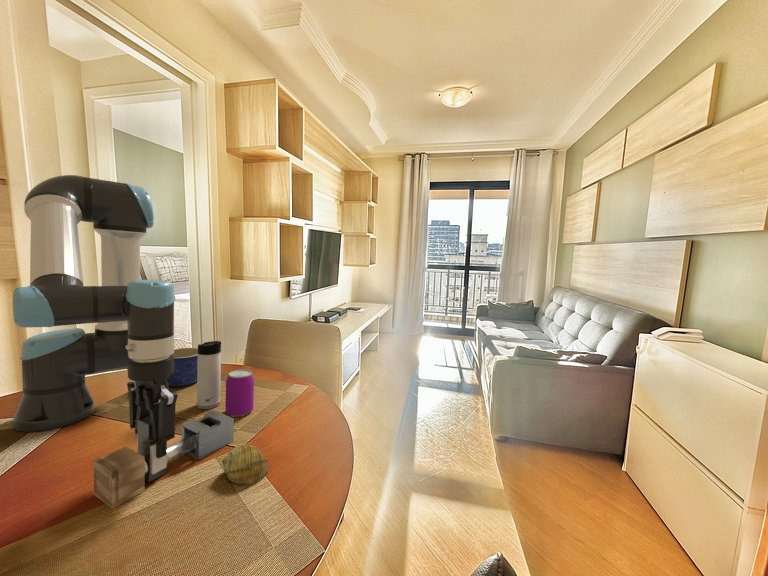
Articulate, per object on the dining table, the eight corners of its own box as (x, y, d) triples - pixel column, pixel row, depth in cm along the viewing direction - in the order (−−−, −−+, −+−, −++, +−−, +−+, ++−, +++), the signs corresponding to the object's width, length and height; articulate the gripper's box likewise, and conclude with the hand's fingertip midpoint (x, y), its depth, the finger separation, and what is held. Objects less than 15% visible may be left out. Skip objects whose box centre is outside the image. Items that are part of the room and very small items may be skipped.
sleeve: (216, 433, 82) (216, 408, 82) (233, 441, 80) (233, 415, 79) (181, 451, 74) (181, 423, 74) (198, 460, 72) (199, 431, 71)
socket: (126, 478, 65) (126, 446, 64) (144, 490, 62) (144, 456, 61) (94, 495, 60) (93, 460, 59) (112, 508, 57) (111, 472, 56)
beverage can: (227, 407, 97) (228, 369, 96) (254, 404, 99) (255, 367, 98) (223, 419, 90) (223, 378, 88) (252, 416, 92) (253, 376, 91)
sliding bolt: (188, 449, 75) (189, 400, 74) (199, 454, 73) (200, 404, 72) (109, 489, 61) (108, 430, 60) (119, 497, 59) (119, 436, 58)
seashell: (263, 484, 71) (264, 445, 75) (274, 479, 67) (274, 438, 71) (216, 492, 66) (219, 449, 70) (224, 487, 61) (228, 442, 65)
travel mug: (211, 411, 94) (212, 345, 92) (192, 407, 95) (192, 342, 93) (225, 402, 100) (226, 340, 98) (207, 399, 101) (208, 337, 99)
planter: (199, 373, 121) (199, 345, 121) (206, 384, 112) (206, 354, 111) (160, 379, 114) (160, 350, 113) (163, 392, 104) (163, 360, 103)
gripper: (106, 353, 64) (108, 462, 66) (155, 371, 57) (156, 493, 59) (148, 345, 71) (148, 444, 73) (196, 360, 63) (195, 470, 65)
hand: (151, 466), depth 66 cm, fingers closed on sliding bolt, 4 cm apart
